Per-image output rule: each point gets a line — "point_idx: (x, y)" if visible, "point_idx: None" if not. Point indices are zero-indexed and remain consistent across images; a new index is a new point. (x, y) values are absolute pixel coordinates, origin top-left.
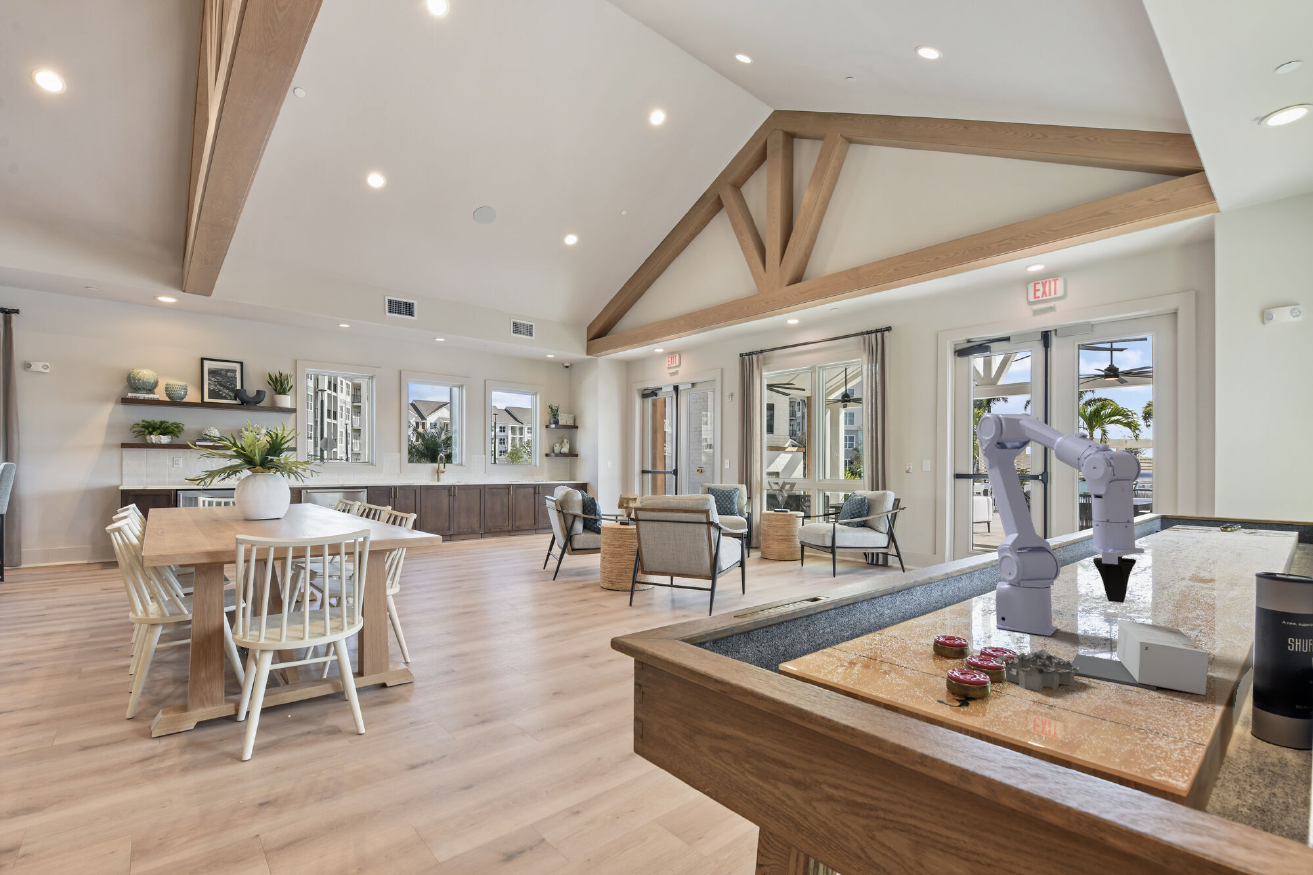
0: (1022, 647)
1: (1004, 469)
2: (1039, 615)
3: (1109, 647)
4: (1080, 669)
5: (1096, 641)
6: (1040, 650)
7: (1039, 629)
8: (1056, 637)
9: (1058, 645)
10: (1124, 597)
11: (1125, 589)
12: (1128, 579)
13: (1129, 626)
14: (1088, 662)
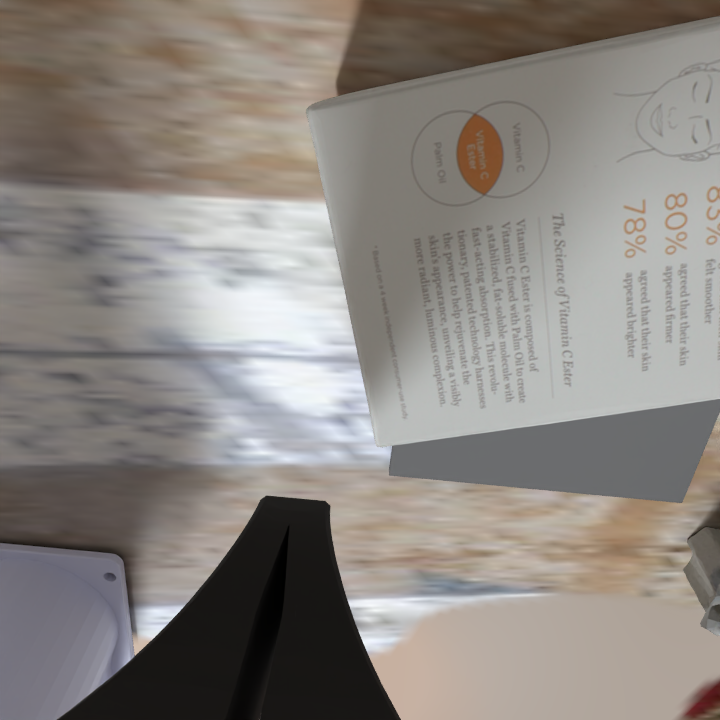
0: (369, 617)
1: None
2: (67, 652)
3: (122, 359)
4: (639, 464)
5: (47, 405)
6: (701, 625)
7: (97, 598)
8: (108, 532)
9: (245, 524)
10: (325, 526)
11: (336, 577)
12: (188, 623)
13: (537, 403)
14: (508, 440)
